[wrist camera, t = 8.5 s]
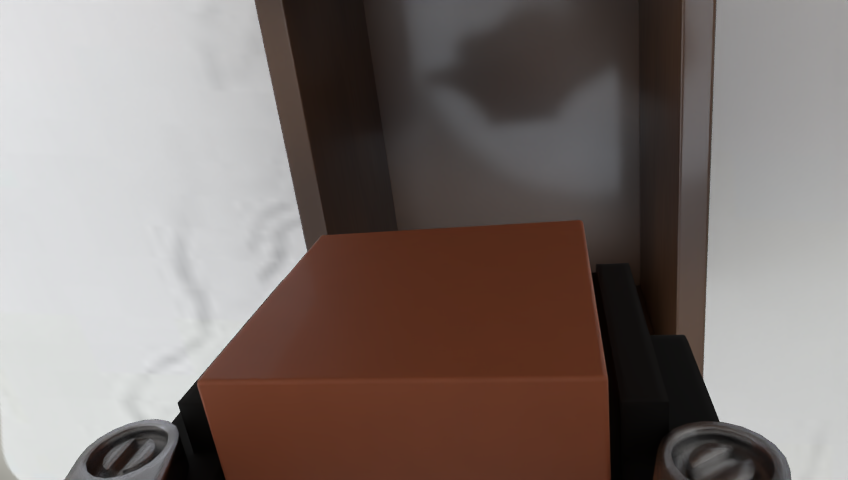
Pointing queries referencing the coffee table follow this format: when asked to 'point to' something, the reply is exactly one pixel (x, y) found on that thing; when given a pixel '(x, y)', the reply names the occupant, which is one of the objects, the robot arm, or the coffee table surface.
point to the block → (420, 362)
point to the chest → (508, 126)
